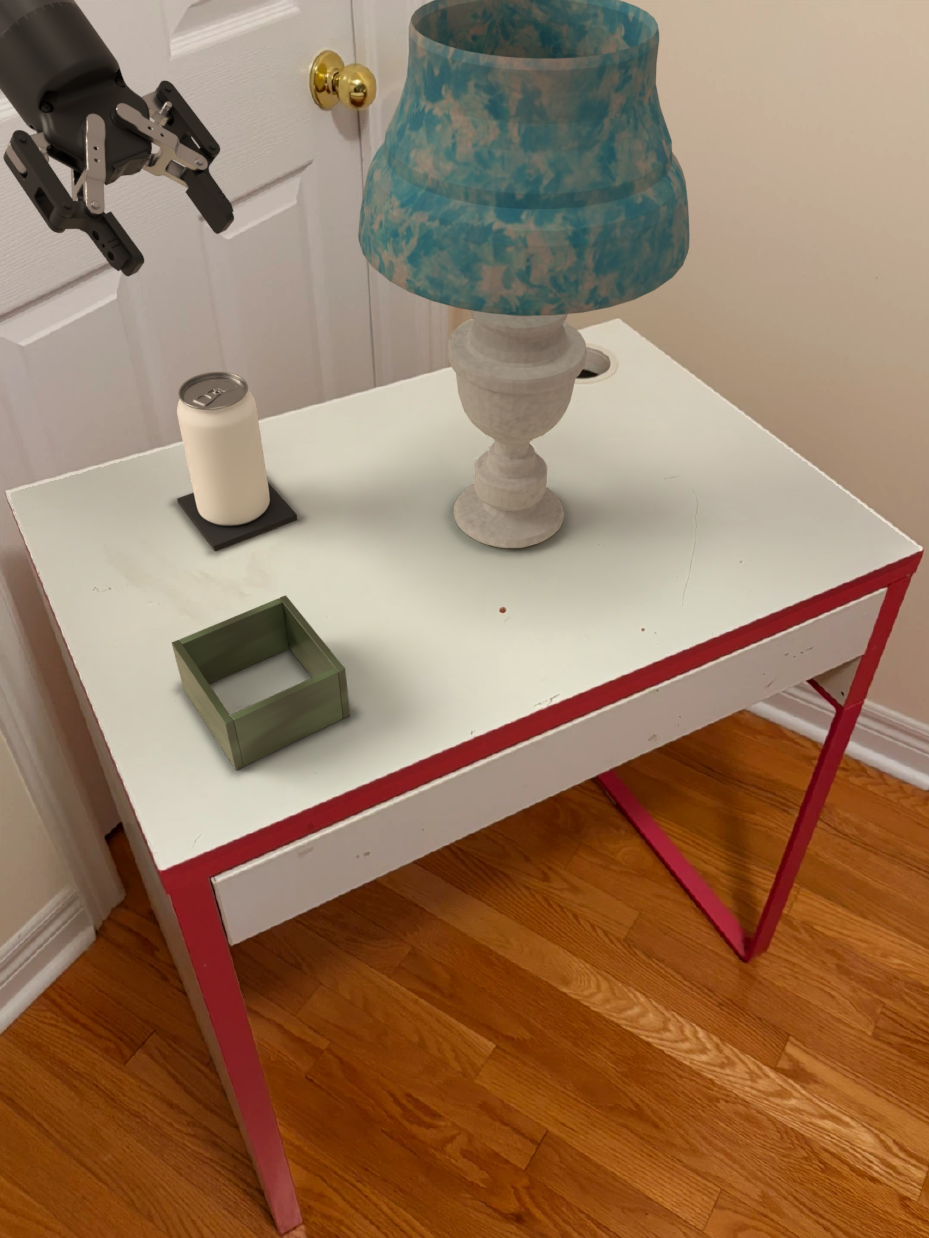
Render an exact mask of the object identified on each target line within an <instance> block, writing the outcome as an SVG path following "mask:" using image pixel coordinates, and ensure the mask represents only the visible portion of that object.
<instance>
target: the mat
mask: <svg viewBox="0 0 929 1238" xmlns="http://www.w3.org/2000/svg"><path fill="white" fill-rule="evenodd" d="M268 488H269V496H270V502H269V505H268V507H267V509H266V510H265V512H264V513H263V514H262V515H261V516H260V517H258V518H257V519H256V520H254V521H252V522H250V523H247V524H244V525H239V526H220V525H216V524H213V523H211V522H209V521H208V520H206V519H204V518H203V517H202V516H201V515H200V514H199V512H198V509H197V505H196V501H195V496H194V492H191V493H188V494H185V495H183V496H180V497H177V498H176V500H177V504H178V505H179V507H180V508H181V510H182V511H183V512H184V513H185V515H186V516H187V517H188V518H189V520H190V522H192V524H193V525H194V526H195V528H196V529H197V530H198V531H199V533H200V534H201V535H202V537H203V538H204V539H205V541H206V542H207V543H208V544H209V546H210V547H211V548H212V550H213V551H214V552H217V551H218V550H221V549H224V548H226V547H229V546H232V545H234V544H237V543H239V542H242V541H245V540H247V539H250V538H253V537H255V536H257V535H260V534H263V533H266V532H268V531H271V530H273V529H276V528H279V527H281V526H284V525H287V524H289V523H291V522H294V521H296V520H298V514H297V513H296V511H295V510H294V509H292V508H291V506H290V505H289V504H288V503H287V501H286V500H284V498H283V497H282V496H281V495H280V494H279V492H277V490H275V488H274V487H273V486H272V485H271V484H270V483H269V482H268Z"/></svg>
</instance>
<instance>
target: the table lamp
mask: <svg viewBox="0 0 929 1238" xmlns="http://www.w3.org/2000/svg"><path fill="white" fill-rule="evenodd" d="M411 15H412V16H411V17H410V21H409V24H408V58H407V70H406V71H407V72H406V79H405V82H404V85H403V88H402V92H401V94H400V98H399V100H398V103H397V105H396V107H395V110H394V112H393V114H392V117H391V119H390V121H389V123H388V126H387V128H386V130H385V134H384V140H383V142H382V144H381V145H380V146H379V148H377V150H376V152H375V154H374V156H373V158H372V160H371V161H370V166H369V167H368V170H367V174H366V178H365V183H364V188H363V192H362V198H361V205H360V212H359V221H358V234H357V238H358V243H359V246H360V249H361V252H362V255H363V257H364V258H365V259H366V261H367V262H368V263H369V264H370V266H371V267H372V268H373V269H374V270H375V271H377V272H378V273H379V274H380V275H381V276H383V277H384V278H385V279H387V280H388V281H389V282H391V283H393V284H394V285H396V286H398V287H399V288H401V289H403V290H405V291H406V292H409V293H411V294H413V295H416V296H418V297H420V298H421V297H422V298H424V299H426V300H429V301H431V302H434V303H437V304H442V305H444V306H445V305H446V306H450V307H453V308H457V309H460V310H461V309H462V310H467V311H470V314H471V318H469V319H467V320H465V321H463V322H462V323H461V324H459V325H458V326H457V327H456V328H455V329H454V330H453V331H452V333H451V334H450V337H449V339H448V341H447V359H448V361H449V364H450V367H451V369H452V370H453V371H454V372H455V378H456V385H457V393H458V397H459V400H460V403H461V407H462V409H463V412H464V413H465V415H466V417H467V418H468V419H469V421H470V422H471V423H472V424H473V425H474V426H475V427H476V428H477V429H478V430H479V431H480V432H482V433H483V434H484V435H485V436H488V437H490V438H492V439H493V441H494V442H493V443H491V445H490V446H489V448H488V450H486V451H485V452H483V453H481V455H480V456H478V458H477V459H476V461H475V463H474V474H473V475H474V477H473V478H474V479H473V484H471V485H469V486H468V487H466V488H465V490H463V491H462V493H460V494H459V496H458V497H457V499H456V500H455V503H454V506H453V517H454V521H455V523H456V524H457V526H458V527H459V529H461V531H462V532H463V533H465V535H467V536H468V537H470V538H472V539H473V540H474V541H477V542H479V543H480V544H482V545H487V546H491V547H494V548H497V549H498V548H499V549H524V548H527V547H530V546H533V545H538V544H541V543H542V542H544V541H546V540H548V539H549V538H550V537H552V536H553V535H556V533H557V532H558V531H559V530H560V529H561V526H562V525H563V523H564V519H565V511H564V510H565V509H564V507H563V505H562V502H561V500H559V498H558V497H557V496H556V494H555V492H553V490H551V489H550V488H549V487H548V486H547V480H548V465H547V463H546V461H545V459H544V458H543V457H542V456H540V455H539V454H538V453H537V452H536V450H535V448H534V447H533V445H532V444H531V442H532V441H533V440H535V439H537V438H540V437H543V436H545V435H546V434H547V433H548V432H550V431H551V430H552V429H554V427H556V426H557V425H558V423H559V422H560V421H561V420H562V419H563V417H564V415H566V412H567V410H568V408H569V406H570V404H571V400H572V395H573V391H574V388H575V383H576V379H577V378H578V377H579V376H580V374H581V372H582V371H583V370H584V367H585V366H586V361H587V356H588V355H587V353H588V349H587V343H586V340H585V339H584V337H583V335H582V333H581V332H580V331H579V330H577V328H576V327H575V326H572V325H571V324H570V323H568V322H567V321H566V320H567V317H568V315H571V314H572V315H573V314H582V313H583V314H584V313H589V312H593V311H598V310H603V309H609V308H612V307H613V308H614V307H616V306H619V305H621V304H625V303H628V302H631V301H632V302H633V301H634V300H637V299H639V298H641V297H643V296H645V295H648V294H650V293H652V292H654V291H656V290H657V289H659V288H660V287H661V286H663V285H664V284H666V283H667V282H669V281H670V280H671V279H673V278H674V277H675V276H676V274H677V273H678V272H679V271H680V270H681V268H682V267H683V266H684V264H685V262H686V259H687V256H688V253H689V250H690V236H691V235H690V215H689V214H690V213H689V199H688V191H687V180H686V178H685V175H684V170H683V168H682V165H681V164H680V162H679V160H678V158H677V156H676V155H675V154H674V152H673V141H672V137H671V135H670V132H669V128H668V126H667V122H666V119H665V117H664V113H663V110H662V108H661V102H660V97H659V93H658V92H659V91H658V88H657V63H658V55H659V54H658V53H659V47H660V46H659V45H660V29H659V24H658V22H657V20H656V18H655V17H654V16H652V14H650V13H649V12H648V11H647V10H644V9H643V8H641V7H639V6H637V5H634V4H631V3H629V2H627V1H623V0H431V1H429V2H427V3H425V4H423V5H421V6H420V7H418V8H417V9H416V10H415V11H414V12H413V14H411Z"/></svg>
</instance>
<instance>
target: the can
mask: <svg viewBox="0 0 929 1238" xmlns="http://www.w3.org/2000/svg"><path fill="white" fill-rule="evenodd" d="M178 398H179V399H178V402H177V407H176V415H177V421H178V425H179V429H180V435H181V440H182V443H183V449H184V454H185V459H186V464H187V468H188V473H189V478H190V483H191V487H192V493H194V496H195V501H196V505H197V509H198V512H199V514H200V515H201V516H202V517H203V518H204V519H206V520H208V521H209V522H211V523H213V524H216V525H220V526H239V525H244V524H247V523H250V522H252V521H254V520H256V519H257V518H258V517H260V516H261V515H262V514H263V513H264V512H265V510H266V509H267V507H268V505H269V502H270V496H269V488H268V483H269V481H268V475H267V467H266V462H265V461H266V460H265V455H264V448H263V441H262V435H261V428H260V422H259V416H258V415H259V414H258V409H257V404H256V399H255V397H254V396H253V394H252V393H251V392H250V390H249V385H248V382H247V381H246V380H245V378H243V377H241V376H240V375H238V374H235V373H232V372H227V371H210V372H209V371H208V372H204V373H201V374H197V375H195V376H192V377H191V378H189V379H186V380H185V381H184V382H183V383H182V384H181V385H180V387H179V388H178Z"/></svg>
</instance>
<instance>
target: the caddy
mask: <svg viewBox="0 0 929 1238" xmlns="http://www.w3.org/2000/svg"><path fill="white" fill-rule="evenodd" d="M289 598H290V597H288V596H287V595H286V594H285V595H283V596H280V597H278V598H276V599H273V600H271V601H269V602H266V603H264V604H262V605H261V604H260V605H259V606H256V607H254V608H251V609H249V610H246V611H245V612H241V613H240V614H237V615H235V616H232V617H230V618H228V619H225V620H223V621H220V622H218V623H215V624H213V625H211V626H208V627H206V628H203V629H202V630H198V631H197V632H193V633H191V634H189V635H186V636H184V637H182V638H180V639H177V640H174V641H172V642H171V647H172V650H173V654H174V658H175V662H176V666H177V670H178V674H179V677H180V681H181V685H182V689H183V690H184V692H185V694H186V695H187V697H188V698H189V700H190V701H191V703H192V704H193V706H194V707H195V710H196V711H197V712H198V714H199V716H200V718H202V720H203V721H204V724H205V725H206V726H207V728H208V730H209V731H210V732H211V734H212V736H213V737H214V739H215V741H216V742H217V743H218V745H219V746H220V748H221V749H222V751H223V753H224V754H225V756H226V757H227V759H228V760H229V762H230V763H231V766H232V767H233V768H234V770H236V771H237V770H239V769H241V768H243V767H245V766H247V765H250V764H251V763H254V762H256V761H258V760H261V759H262V758H264V757H266V756H268V755H270V754H272V753H274V752H277V751H279V750H281V749H282V748H285V747H287V746H289V745H291V744H293V743H295V742H297V741H299V740H301V739H304V738H306V737H308V736H311V735H312V734H315V733H316V732H318V731H320V730H322V729H325V728H327V727H328V726H331V725H332V724H335V723H337V722H339V721H341V720H343V719H346V718H347V717H350V716H351V712H350V701H349V691H348V682H347V681H348V680H347V672H346V668H345V666H344V665H343V664H342V663H341V662H340V660H339V659H338V658H337V656H336V655H335V654H334V653H333V652H332V651H331V649H330V648H329V647H328V646H327V644H326V643H325V642H324V640H323V639H322V638H321V637H320V635H319V634H318V632H316V631H315V629H314V628H313V627H312V626H311V624H310V623H309V622H308V621H307V620H306V618H305V617H304V616H303V614H302V613H301V612H300V611H299V609H298V608H297V607H296V606H295V604H294V603H293V602H292V601H291V600H290V599H289ZM287 650H290V651H291V652H292V654H293V655H294V656H295V657H296V659H297V660H298V661H299V663H300V664H301V665H302V666H303V668H304V670H305V671H306V672H307V673H308V675H310V677H311V678H309V679H306V680H304V681H301V682H299V683H298V684H295V685H293V686H290V687H289V688H287V689H285V690H283V691H280V692H278V693H275V694H274V695H271V696H269V697H266V698H265V699H262V700H260V701H257V702H255V703H254V704H251V705H249V706H247V707H245V708H242V709H241V710H238V711H236V712H233V713H232V714H229V712H228V710H227V709H226V707H225V706H224V704H223V703H222V701H221V700H220V698H219V697H218V695H217V694H216V692H215V691H214V690H213V688H212V686H211V685H210V684H212V683H214V682H217V681H218V680H221V679H223V678H226V677H228V676H229V675H233V674H234V673H236V672H239V671H241V670H244V669H245V668H249V667H250V666H253V665H255V664H257V663H260V662H261V661H264V660H267V659H268V658H271V657H273V656H276V655H278V654H280V653H283V652H284V651H287Z"/></svg>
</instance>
